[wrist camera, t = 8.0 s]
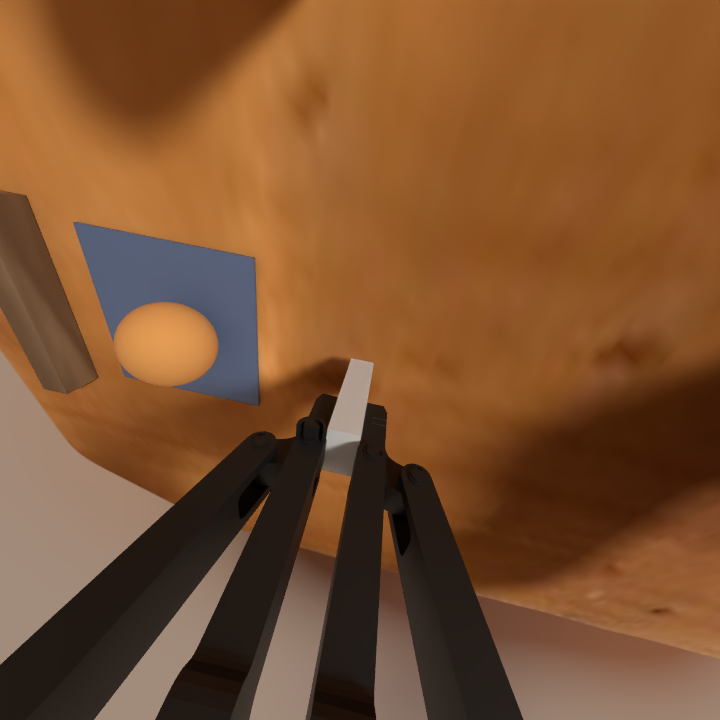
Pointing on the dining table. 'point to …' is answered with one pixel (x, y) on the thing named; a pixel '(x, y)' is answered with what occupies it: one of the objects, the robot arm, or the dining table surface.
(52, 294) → the brown wooden bar
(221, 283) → the navy mark
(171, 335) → the ball
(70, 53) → the dining table surface
